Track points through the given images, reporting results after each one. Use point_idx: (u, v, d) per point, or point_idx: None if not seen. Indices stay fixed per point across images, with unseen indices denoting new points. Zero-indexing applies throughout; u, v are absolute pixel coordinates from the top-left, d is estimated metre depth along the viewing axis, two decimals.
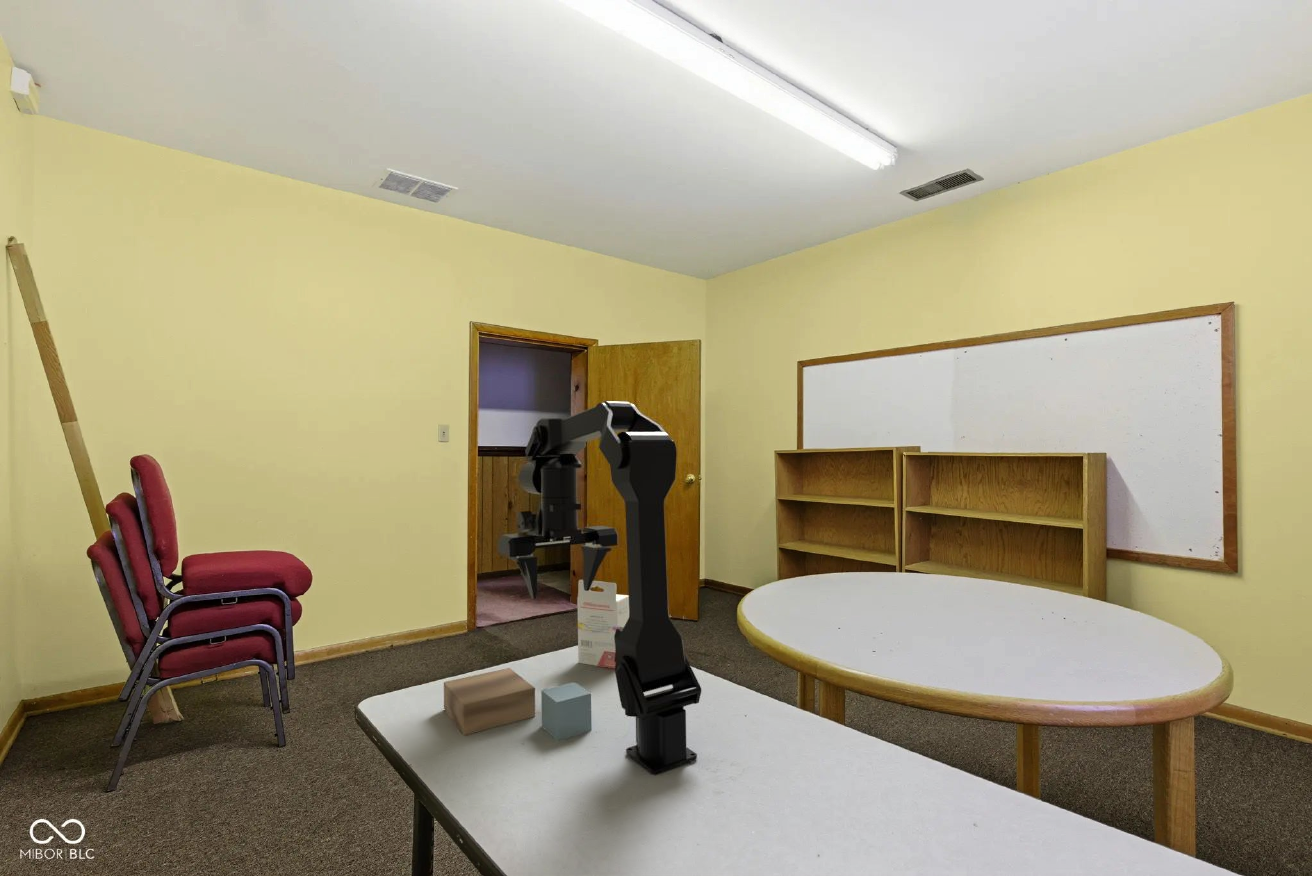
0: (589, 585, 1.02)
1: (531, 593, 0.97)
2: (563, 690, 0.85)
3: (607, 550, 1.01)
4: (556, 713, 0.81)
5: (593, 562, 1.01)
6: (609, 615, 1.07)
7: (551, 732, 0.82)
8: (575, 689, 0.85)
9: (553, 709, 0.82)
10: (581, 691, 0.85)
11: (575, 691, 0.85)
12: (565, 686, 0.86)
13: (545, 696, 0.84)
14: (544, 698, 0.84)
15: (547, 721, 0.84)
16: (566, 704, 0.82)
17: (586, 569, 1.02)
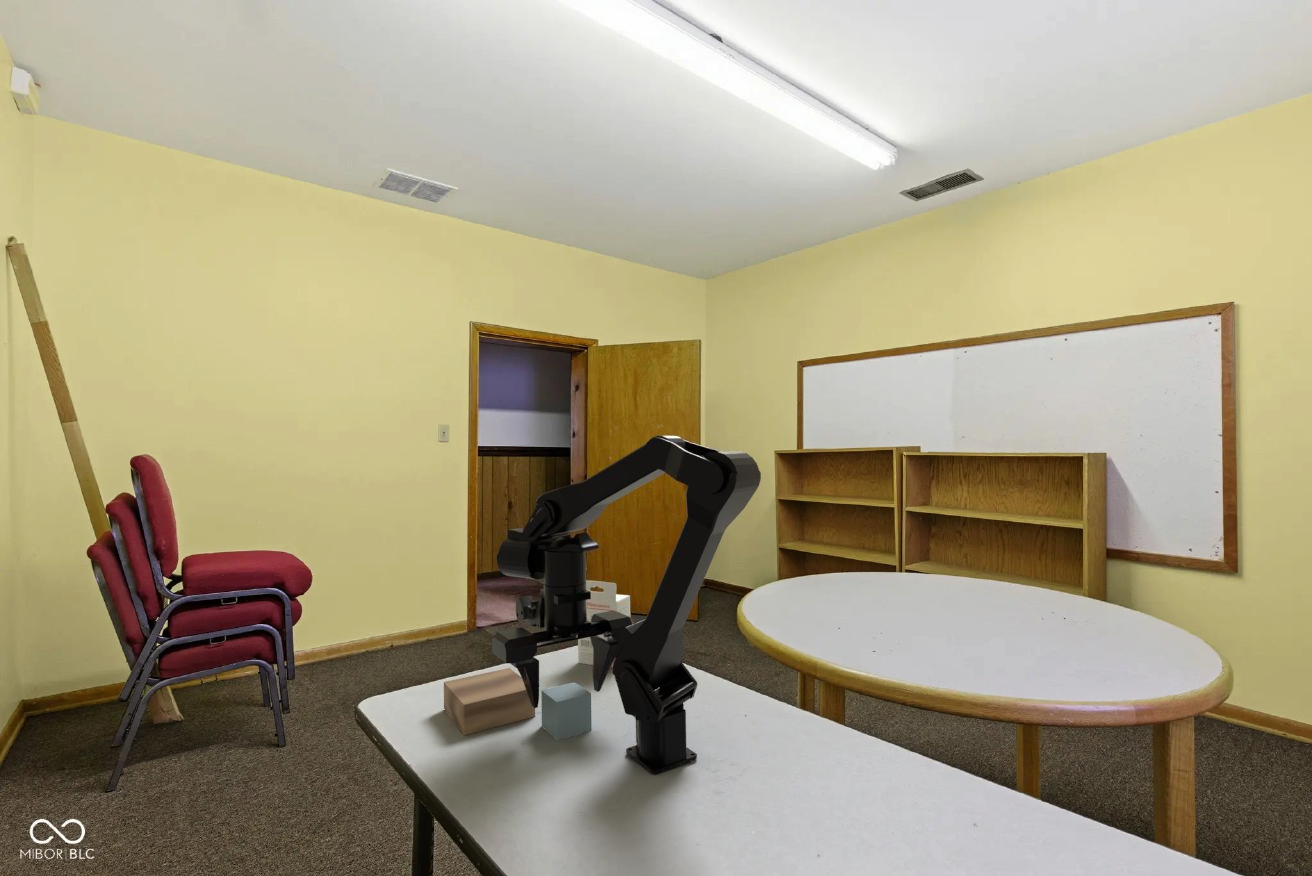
0: (600, 686, 0.86)
1: (532, 701, 0.81)
2: (563, 690, 0.85)
3: None
4: (556, 713, 0.81)
5: (605, 659, 0.85)
6: None
7: (551, 732, 0.82)
8: (575, 689, 0.85)
9: (553, 709, 0.82)
10: (581, 691, 0.85)
11: (575, 691, 0.85)
12: (565, 686, 0.86)
13: (545, 696, 0.84)
14: (544, 698, 0.84)
15: (547, 721, 0.84)
16: (566, 704, 0.82)
17: (596, 666, 0.87)
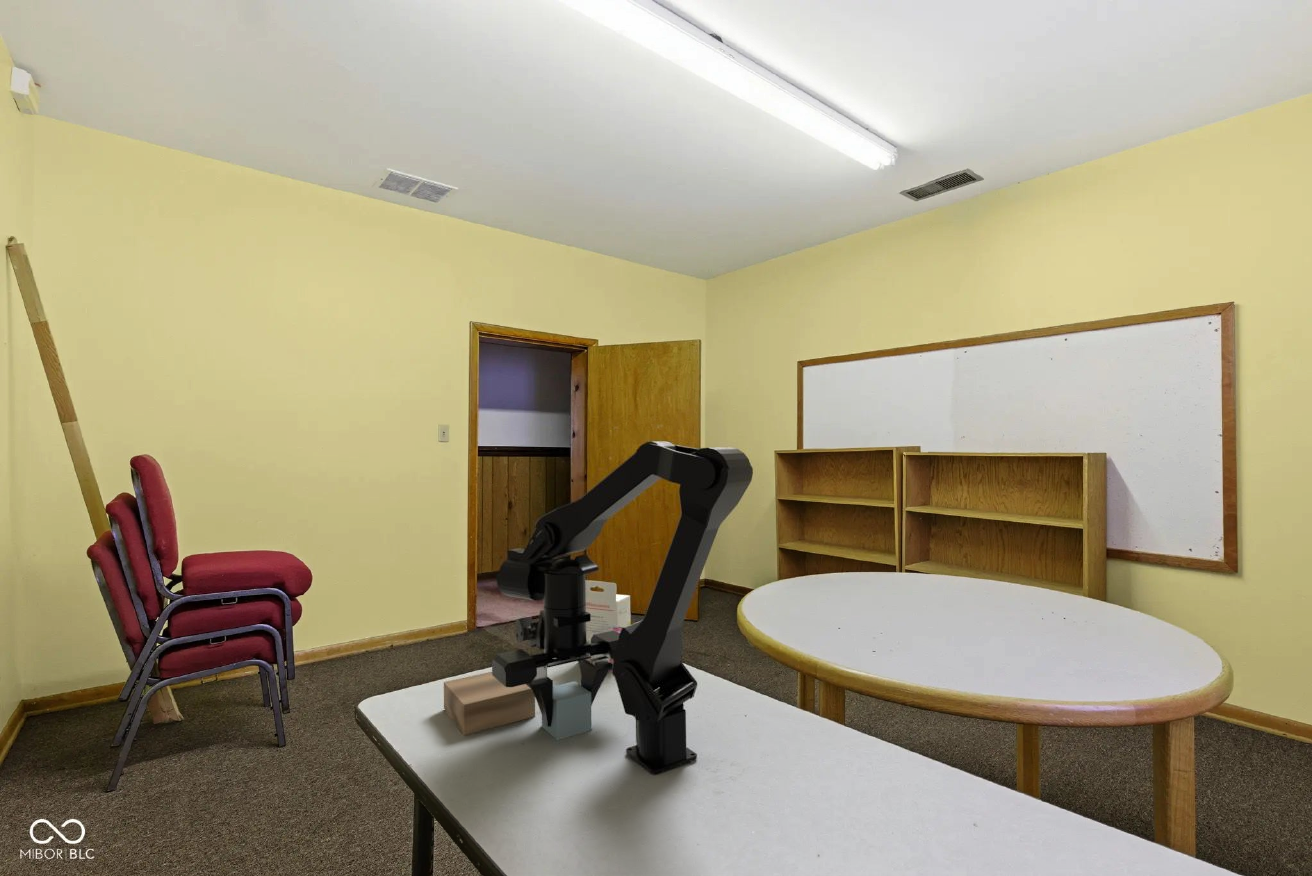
0: None
1: (545, 720, 0.82)
2: (563, 689, 0.85)
3: (609, 669, 0.85)
4: (556, 712, 0.81)
5: (592, 684, 0.84)
6: (609, 615, 1.07)
7: (551, 731, 0.82)
8: (575, 688, 0.85)
9: (553, 708, 0.82)
10: (581, 690, 0.85)
11: (575, 690, 0.85)
12: (565, 685, 0.86)
13: None
14: None
15: None
16: (566, 703, 0.82)
17: None
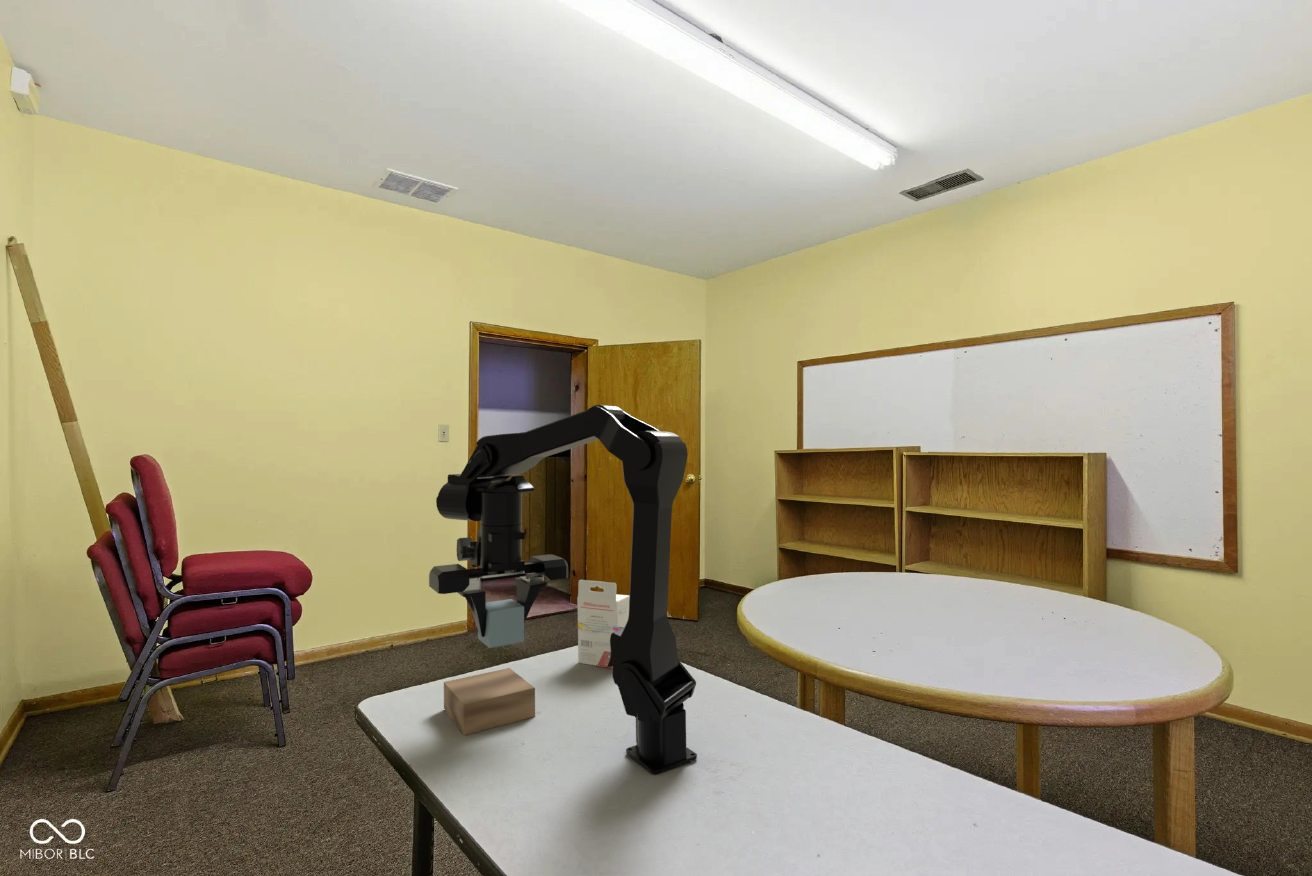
0: None
1: (479, 630, 0.87)
2: (498, 604, 0.90)
3: (542, 585, 0.89)
4: (488, 622, 0.86)
5: (525, 599, 0.89)
6: (609, 615, 1.07)
7: (485, 641, 0.87)
8: (510, 603, 0.90)
9: (487, 618, 0.86)
10: (515, 605, 0.89)
11: (510, 604, 0.89)
12: (501, 601, 0.91)
13: None
14: None
15: None
16: (498, 614, 0.86)
17: None
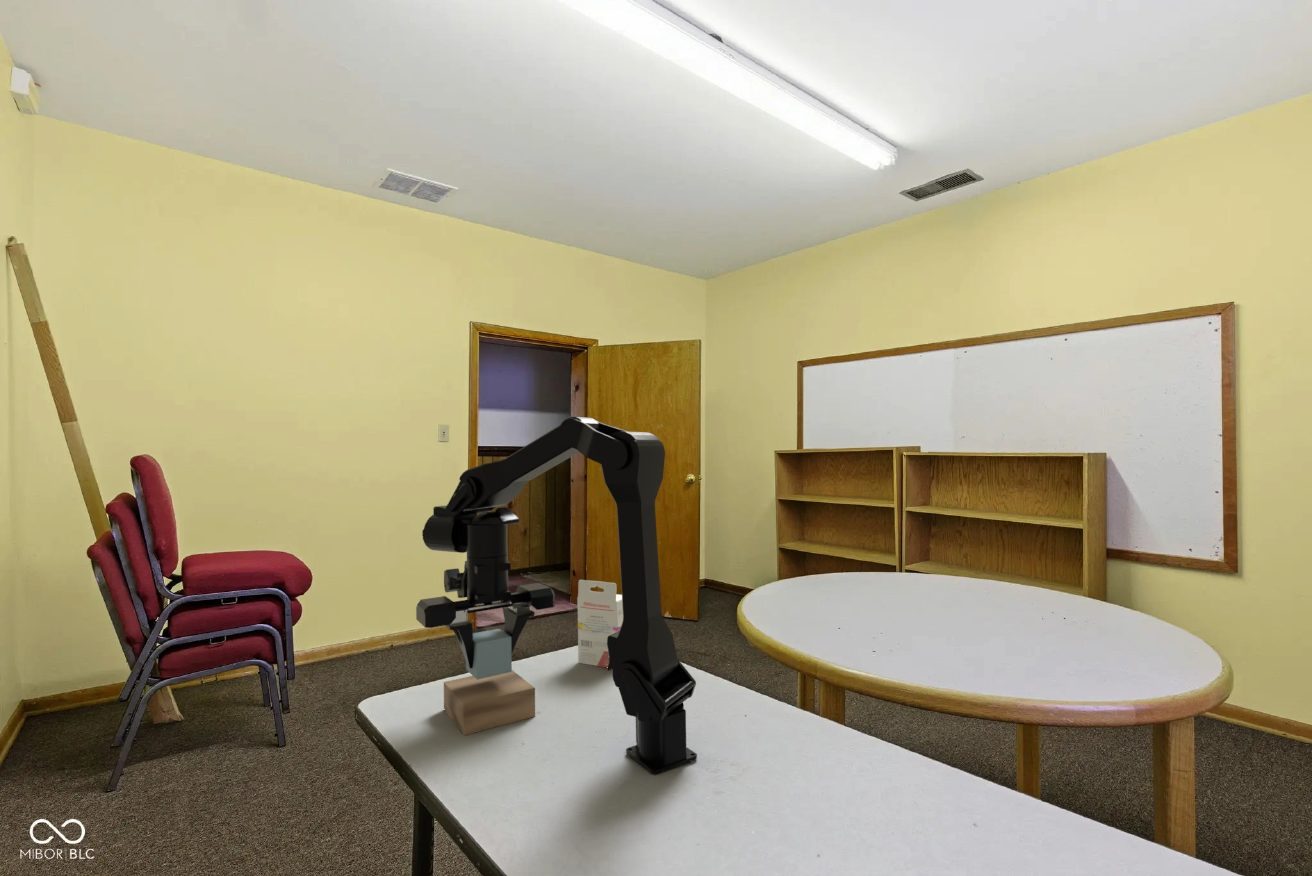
0: None
1: (467, 662, 0.88)
2: (486, 634, 0.90)
3: (529, 615, 0.90)
4: (476, 654, 0.87)
5: (513, 629, 0.90)
6: (609, 615, 1.07)
7: (473, 672, 0.88)
8: (498, 633, 0.91)
9: (474, 650, 0.87)
10: (502, 635, 0.90)
11: (497, 635, 0.90)
12: (489, 631, 0.92)
13: None
14: None
15: None
16: (486, 646, 0.87)
17: None
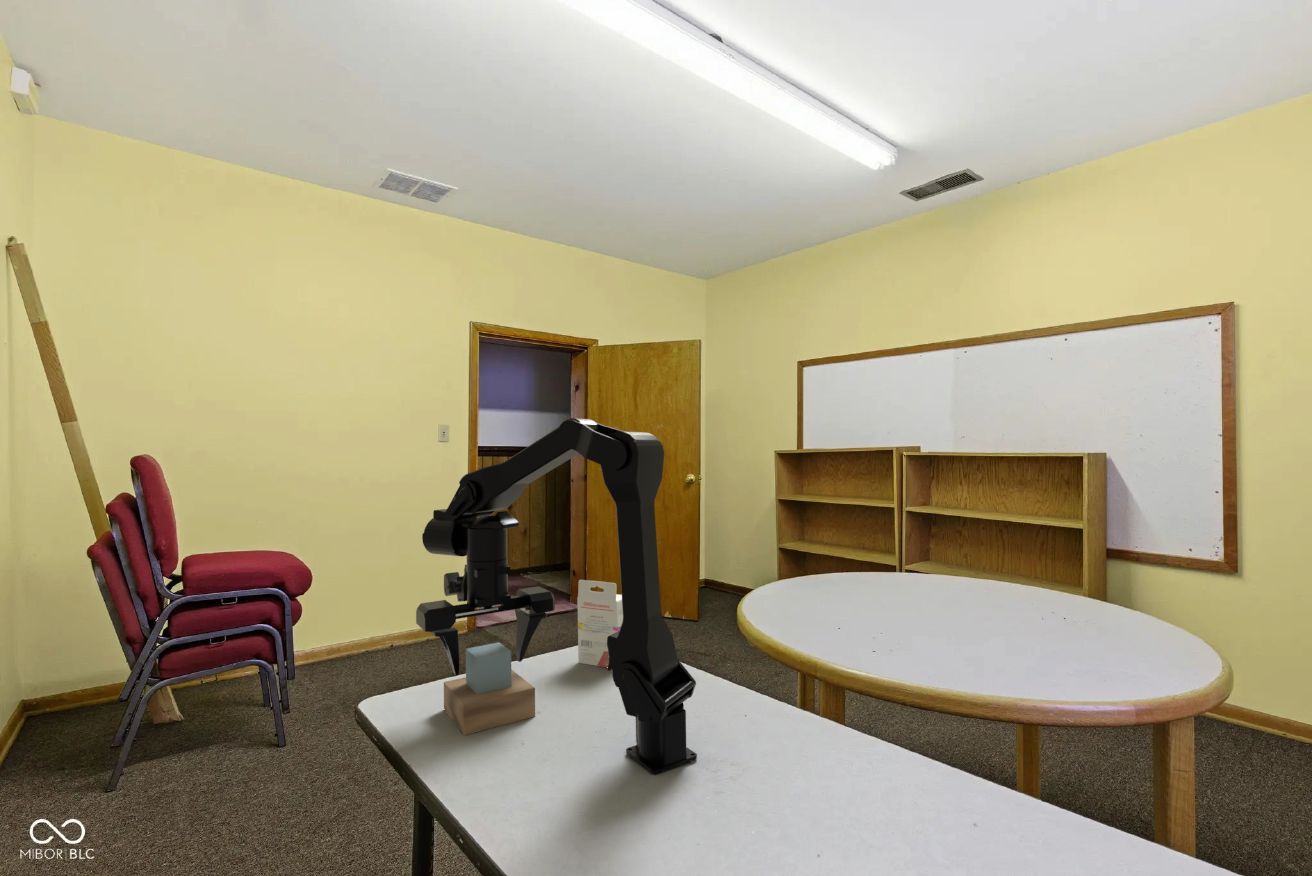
0: (522, 656, 0.92)
1: (453, 668, 0.87)
2: (486, 649, 0.90)
3: (541, 617, 0.91)
4: (476, 668, 0.87)
5: (525, 631, 0.91)
6: (609, 615, 1.07)
7: (473, 686, 0.88)
8: (498, 648, 0.91)
9: (474, 664, 0.87)
10: (502, 649, 0.90)
11: (497, 649, 0.90)
12: (489, 645, 0.92)
13: (468, 653, 0.89)
14: (468, 656, 0.90)
15: (469, 677, 0.89)
16: (485, 660, 0.87)
17: (519, 637, 0.92)
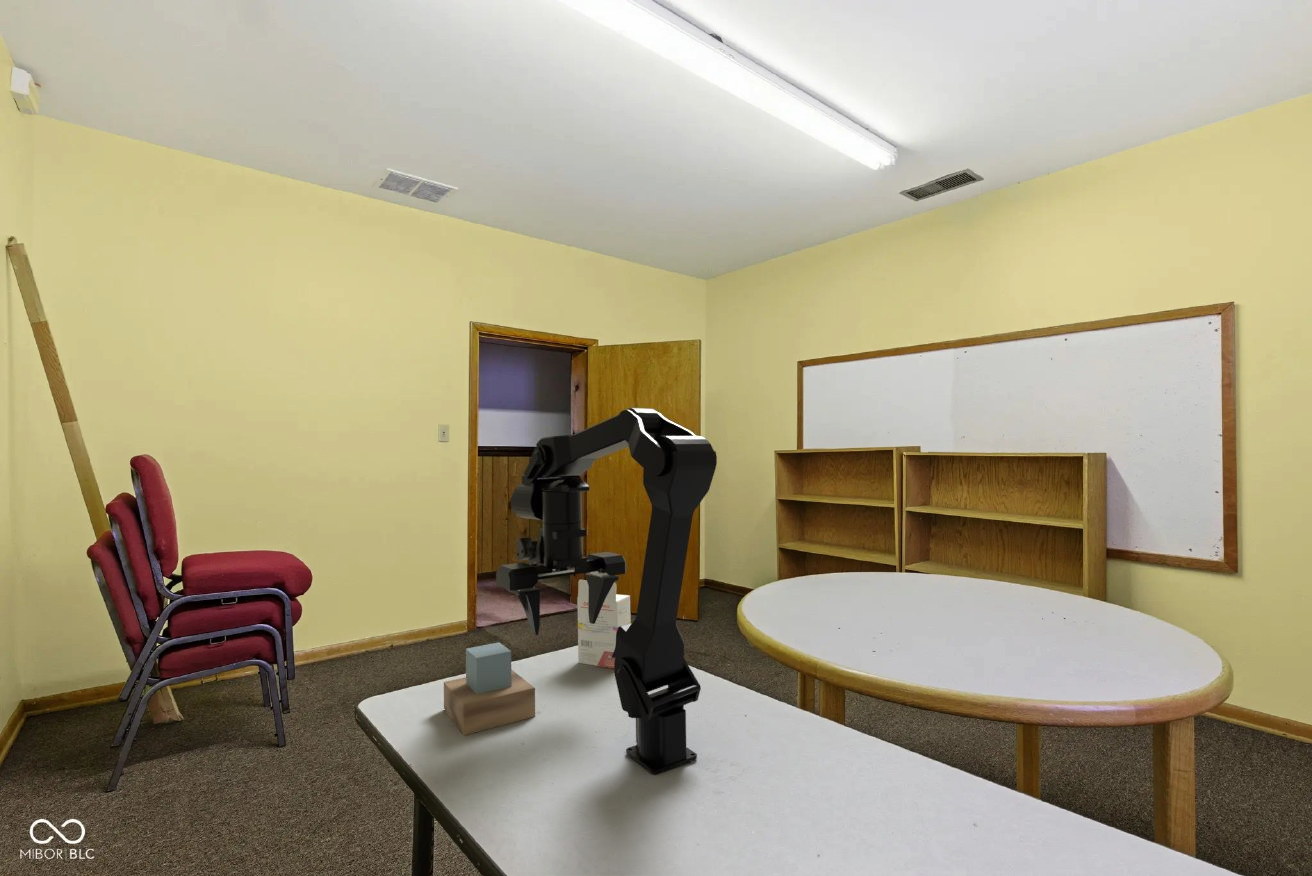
0: (596, 618, 0.94)
1: (533, 629, 0.88)
2: (486, 649, 0.90)
3: (614, 579, 0.93)
4: (476, 668, 0.87)
5: (599, 593, 0.93)
6: (609, 615, 1.07)
7: (473, 686, 0.88)
8: (498, 648, 0.91)
9: (474, 664, 0.87)
10: (502, 649, 0.90)
11: (497, 649, 0.90)
12: (489, 645, 0.92)
13: (468, 653, 0.89)
14: (468, 656, 0.90)
15: (469, 677, 0.89)
16: (485, 660, 0.87)
17: (591, 600, 0.94)
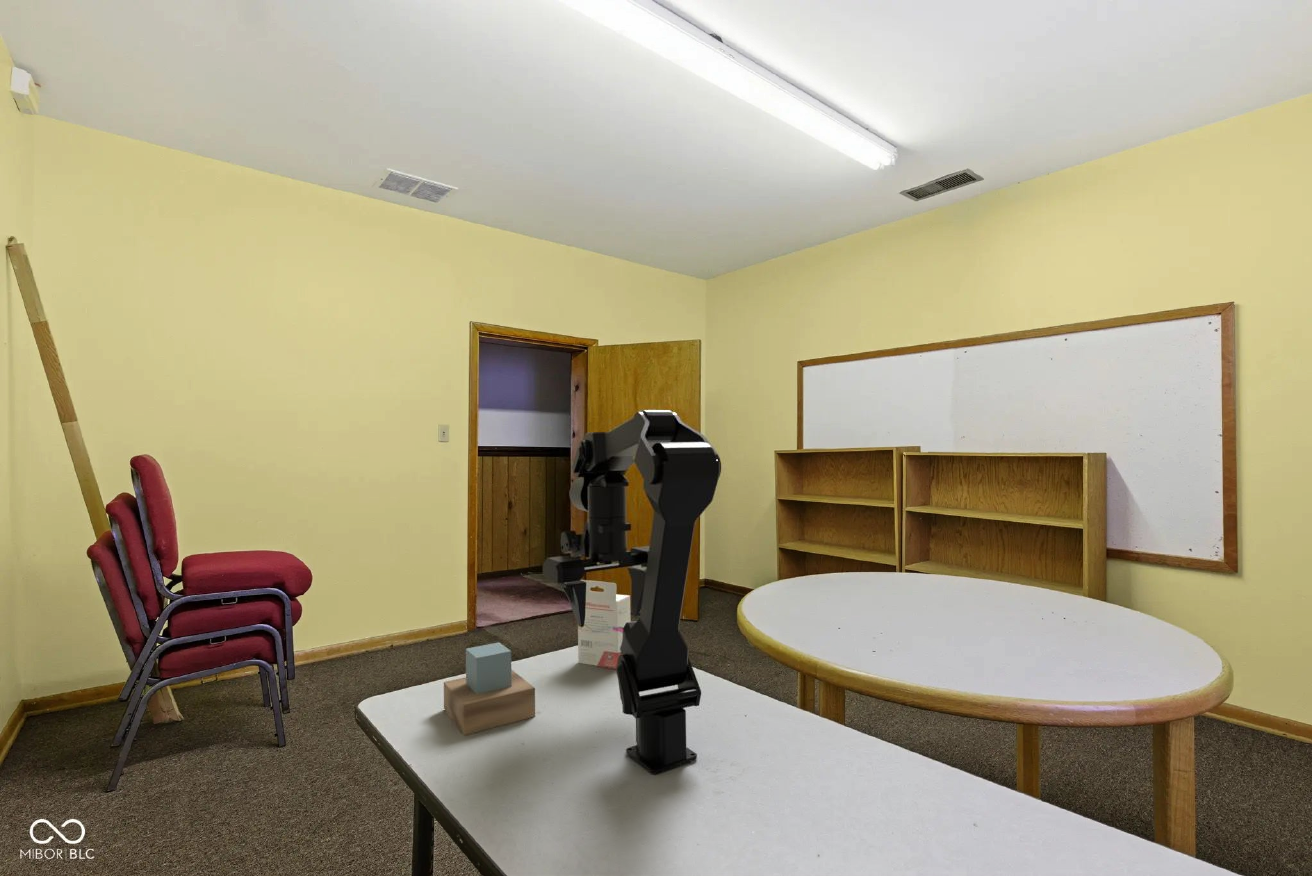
0: (638, 611, 0.95)
1: (578, 621, 0.90)
2: (486, 649, 0.90)
3: None
4: (476, 668, 0.87)
5: (643, 586, 0.94)
6: (609, 615, 1.07)
7: (473, 686, 0.88)
8: (498, 648, 0.91)
9: (474, 664, 0.87)
10: (502, 649, 0.90)
11: (497, 649, 0.90)
12: (489, 645, 0.92)
13: (468, 653, 0.89)
14: (468, 656, 0.90)
15: (469, 677, 0.89)
16: (485, 660, 0.87)
17: (634, 593, 0.96)
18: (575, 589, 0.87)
